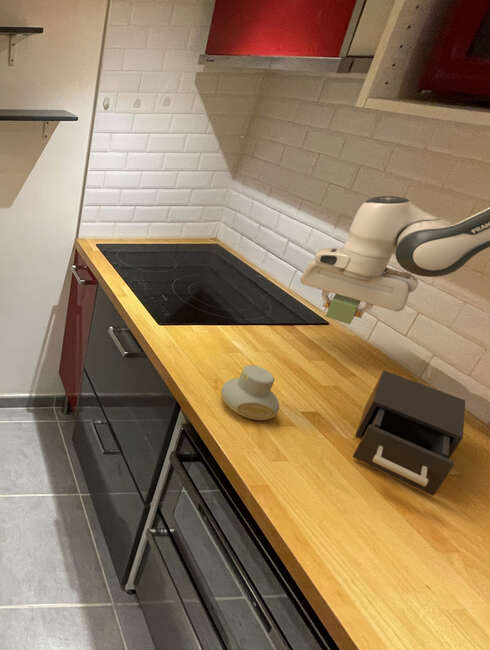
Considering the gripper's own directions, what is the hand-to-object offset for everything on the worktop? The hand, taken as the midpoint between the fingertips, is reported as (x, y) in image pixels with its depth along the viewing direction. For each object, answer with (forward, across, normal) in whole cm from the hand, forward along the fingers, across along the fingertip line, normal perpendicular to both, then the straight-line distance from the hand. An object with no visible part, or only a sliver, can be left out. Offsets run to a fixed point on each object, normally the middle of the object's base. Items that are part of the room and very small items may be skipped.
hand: (341, 311), depth 113 cm
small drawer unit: (+14, -17, +21) cm, 31 cm away
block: (+2, 0, 0) cm, 2 cm away
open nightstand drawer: (+13, -17, +33) cm, 39 cm away
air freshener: (+14, +7, +37) cm, 40 cm away
